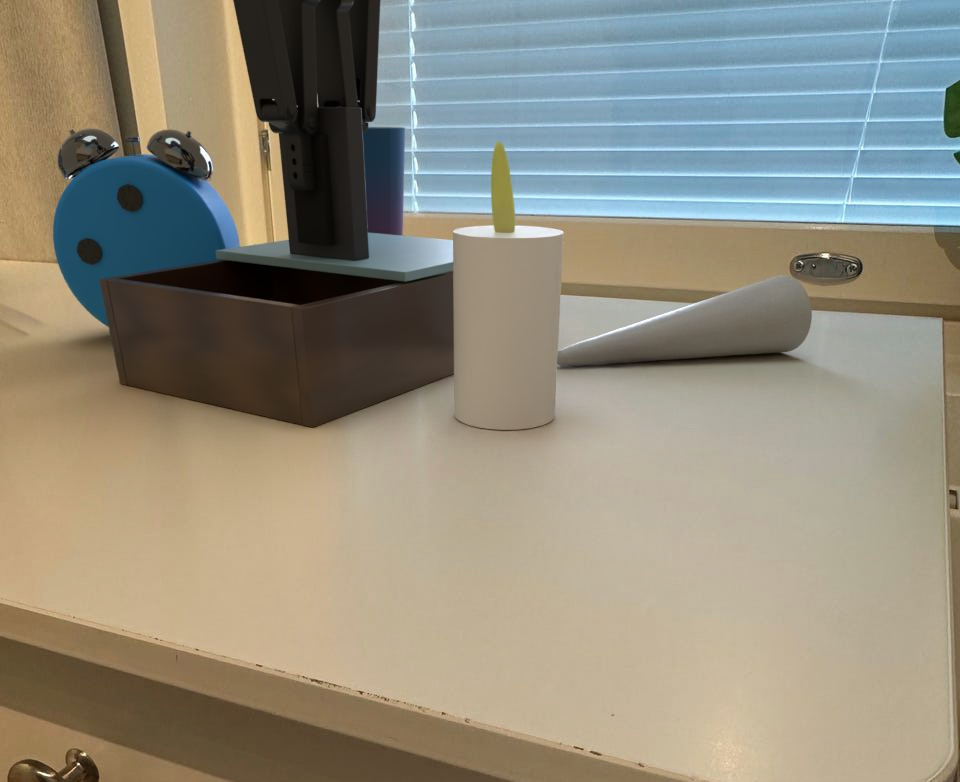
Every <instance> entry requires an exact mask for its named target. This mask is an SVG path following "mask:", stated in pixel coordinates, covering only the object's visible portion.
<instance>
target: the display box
mask: <svg viewBox="0 0 960 782" xmlns="http://www.w3.org/2000/svg"><path fill="white" fill-rule="evenodd" d="M99 281H100V286H101V291H102V296H103V301H104V306H105V311H106V316H107V321H108V326H109V327H108V331H109V335H110V341H111V345H112V350H113V355H114V361H115V366H116V370H117V376H118V380H119V384H120V385H123V386H128V387H129V386H130V387H134V388H139V389H143V390H147V391H151V392H156V393H162V394H165V395H168V396H174V397H178V398H182V399H186V400H191V401H195V402H201V403H204V404H210V405H212V406H213V405H214V406H217V407H222V408H227V409H230V410H236V411H239V412H244V413H250V414H254V415H258V416H261V417H267V418H271V419H276V420H278V421H279V420H280V421H285V422H287V423H292V424H298V425H302V426H306V427H310V428H314V427H317V426H320V425H323V424H325V423H328V422H330V421H333V420H336V419H338V418H341V417H344V416H347V415H349V414H352V413H354V412H357V411H359V410H362V409H365V408H367V407H370V406H373V405H375V404H378V403H380V402H383V401H386V400H388V399H391V398H394V397H397V396H399V395H401V394H404V393H407V392H409V391H413V390H415V389H418V388H420V387H423V386H426V385H428V384H430V383H434V382H435V381H436V382H437V381H439V380H441V379H444V378H447V377H449V376H452V375H454V310H453V271H451V272H446V273H442V274H438V275H433V276H429V277H424V278H420V279H416V280H411V281H407V282H403V281H395V280H386V279H378V278H370V277H361V276H353V275H345V274H336V273H328V272H320V271H311V270H303V269H295V268H286V267H278V266H270V265H261V264H253V263H245V262H236V261H228V260H215V261H209V262H203V263H196V264H190V265H184V266H177V267H171V268H164V269H158V270H152V271H145V272H139V273H133V274H126V275H120V276H114V277H107V278H101V279H99Z"/></svg>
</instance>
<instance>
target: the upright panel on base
mask: <svg viewBox="0 0 960 782" xmlns="http://www.w3.org/2000/svg"><path fill="white" fill-rule="evenodd" d="M317 108H318V129H317V131H316V133H315V134H313V135H327V136H328V147H329V161H330V175H331V190H332V204H333V219H334V233H335V245H330V246H326V245H316V244H307V243H298V232H297V221H296V210H295V199H294V190H291V188H290V185H289V182H288V173H287V172H288V170H287V162H286V151H285V141H284V136H283V134H281V133H278V141H279V142H278V143H279V152H280V161H281V173H282V184H283V195H284V204H285V216H286V225H287V236H288V239H284V240H277V241H269V242H264V243H258V244H250V245H244V246H243V245H242V246H240V247H236V248H229V249H222V250H216V258H217V259H220V260H228V261H236V262H245V263H253V264H261V265H270V266H278V267H286V268H295V269H303V270H311V271H320V272H328V273H336V274H345V275H353V276H361V277H370V278H378V279H386V280H395V281H403V282H407V281H411V280H416V279H420V278H424V277H429V276H433V275H438V274H442V273H446V272H451V271H453V239H445V238H432V237H421V236H411V235H403V236H401V235H390V234H379V233H368V225H367V206H366V187H365V168H364V149H363V129H362V110H361V108H360V107H319V106H317Z"/></svg>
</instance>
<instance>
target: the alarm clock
mask: <svg viewBox="0 0 960 782" xmlns="http://www.w3.org/2000/svg"><path fill="white" fill-rule="evenodd" d="M68 132H69V134H70V135H69V136H68V137H67V138H66V139H64V140H63V142H62V143H61V145H60V147H59V149H58V152H57V158H56V159H57V161H56V162H57V167H58V171H59V173H60V174H61V176H62V178H63V179H64V181H68V180H71V181H70V182H69V183H68V184H67V186H66V187H65V188H64V190H63V192H62V193H61V195H60V198H59V200H58V203H57V205H56V208H55V211H54V216H53V224H52V239H53V241H52V242H53V248H54V254H55V259H56V262H57V265H58V268H59V270H60V273H61V275H62V277H63V279H64V282H65V283H66V285H67V287H68V288H69V290H70V292H71V293H72V294H73V296H74V298H76V300H77V301H78V303H80V305H81V306H82V307H83V308H84V309H85V311H86V312H88V313H89V314H90V315H91V316H92V317H94V318H95V319H96V320H97V321H98V322H100V323H101V324H103V325H104V326H105V327H108V328H109V326H108V321H107V316H106V311H105V306H104V301H103V296H102V291H101V286H100V281H99V279H101V278H107V277H114V276H120V275H126V274H133V273H139V272H145V271H152V270H158V269H164V268H171V267H177V266H184V265H190V264H196V263H203V262H209V261H215V260H220V259H217V258H216V250H222V249H229V248H236V247H241V242H240V237H239V234H238V229H237V226H236V224H235V221H234V218H233V216H232V213H231V211H230V209H229V208H228V206H227V204H226V203H225V201H224V199H223V198H222V197H221V195H220V194H219V193H218V192H217V190H216V189H215V187H213V186H212V184H210V183H209V182H211V181H212V179H213V175H214V164H213V163H214V162H213V160H212V157H211V156H210V154H209V151H208V150H207V149H206V148H205V146H204V145H203V144H202V143H201V142H200V141H198V140H197V138H194V137H193V136H192V132H191V131H190V130H187V132H186V133H185V132H184V131H181V130H178V129H170V128H169V129H162V130H158V131H157V132H155V133H153V134H152V135H151V136H150V138H149V139H148V142H147V144H146V149H147V151H148V152H149V153H151V154H148V153H142V154H136V148H135V143H140V142H141V139H140V136H124V140H125V142H126V143H132V148H133V154H130V155H129V154H128V155H124V156H117V157H112V156H113V155H115V154H116V153H117V152H118V151H119V150H120V149H121V145H120V144H119V142H118V141H117V139H116V138H115V137H114V136H113V135H111V134H110V133H109V132H107V131H105V130H102V129H99V128H91V127H90V128H84V129H80V130H78V131H75V130H74V129H71V130H69V131H68ZM111 157H112V158H111Z"/></svg>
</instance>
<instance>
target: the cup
mask: <svg viewBox="0 0 960 782" xmlns="http://www.w3.org/2000/svg"><path fill="white" fill-rule="evenodd" d="M405 145H406V127H403V126H368V130H367V132H366V133H364V134H363V149H364V168H365V187H366V206H367V225H368V233H379V234H390V235H401V236H404V196H405V195H404V194H405V193H404V192H405V191H404V190H405V150H406V149H405V147H406V146H405Z"/></svg>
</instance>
